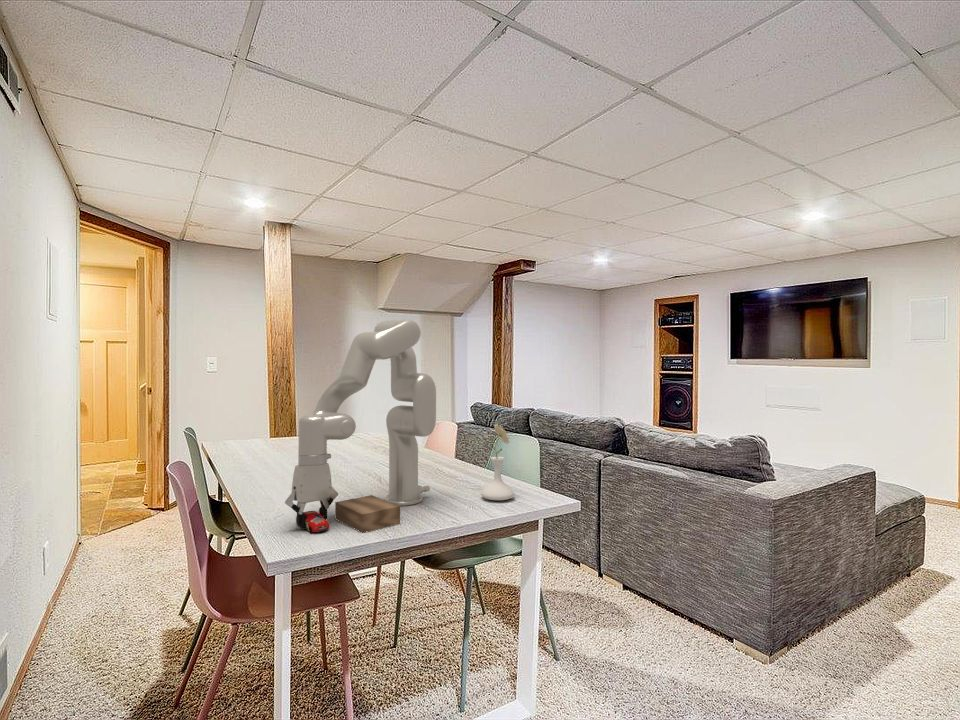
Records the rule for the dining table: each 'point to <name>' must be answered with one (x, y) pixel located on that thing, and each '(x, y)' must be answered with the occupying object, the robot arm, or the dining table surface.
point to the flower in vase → (498, 474)
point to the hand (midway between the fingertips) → (312, 524)
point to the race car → (315, 522)
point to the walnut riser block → (367, 513)
